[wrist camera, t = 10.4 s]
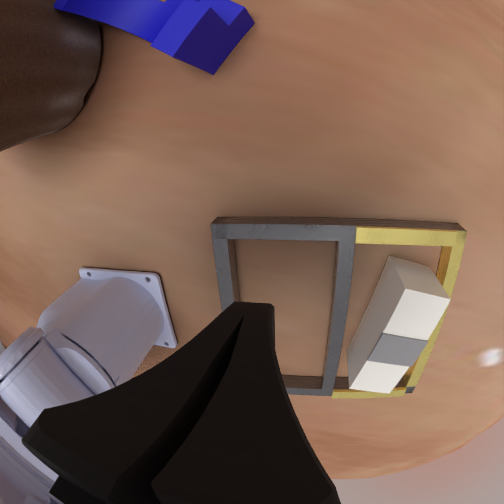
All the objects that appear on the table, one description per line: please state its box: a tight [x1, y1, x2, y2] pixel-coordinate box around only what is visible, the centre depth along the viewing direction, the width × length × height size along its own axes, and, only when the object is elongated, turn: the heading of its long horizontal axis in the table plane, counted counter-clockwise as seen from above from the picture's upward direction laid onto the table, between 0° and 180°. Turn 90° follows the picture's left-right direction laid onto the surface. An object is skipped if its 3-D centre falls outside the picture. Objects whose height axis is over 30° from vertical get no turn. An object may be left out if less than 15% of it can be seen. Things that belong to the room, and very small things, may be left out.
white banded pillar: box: [347, 256, 451, 394], centre depth 18 cm, size 4×9×5 cm, turn 170°
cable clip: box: [54, 0, 254, 75], centre depth 11 cm, size 12×4×6 cm, turn 54°
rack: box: [211, 217, 467, 398], centre depth 20 cm, size 17×16×2 cm
